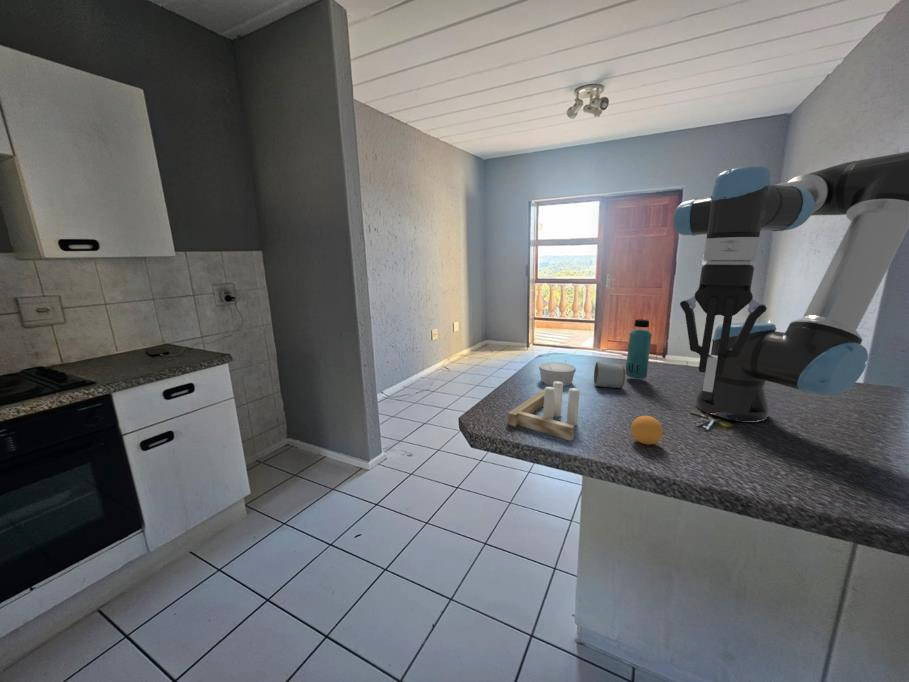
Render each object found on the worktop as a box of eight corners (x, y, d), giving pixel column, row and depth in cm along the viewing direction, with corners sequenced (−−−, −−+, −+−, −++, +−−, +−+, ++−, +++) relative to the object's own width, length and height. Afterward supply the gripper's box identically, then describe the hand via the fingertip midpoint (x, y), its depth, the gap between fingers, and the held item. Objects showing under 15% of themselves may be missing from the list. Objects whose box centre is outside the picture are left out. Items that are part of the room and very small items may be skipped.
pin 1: (554, 421, 90) (556, 388, 88) (550, 424, 88) (552, 390, 86) (545, 418, 91) (547, 386, 89) (541, 421, 89) (543, 388, 87)
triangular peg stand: (597, 412, 94) (598, 401, 94) (568, 443, 79) (569, 430, 78) (542, 399, 103) (543, 389, 102) (507, 424, 88) (507, 412, 87)
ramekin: (531, 379, 121) (532, 364, 120) (558, 375, 125) (559, 360, 124) (553, 390, 111) (554, 373, 110) (582, 385, 115) (583, 369, 114)
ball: (663, 441, 79) (666, 415, 78) (658, 452, 75) (661, 425, 73) (633, 433, 83) (635, 409, 82) (626, 444, 78) (629, 418, 77)
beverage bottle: (645, 378, 121) (652, 318, 117) (648, 384, 115) (655, 321, 111) (623, 376, 124) (629, 317, 119) (625, 382, 117) (632, 320, 113)
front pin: (578, 422, 89) (581, 389, 87) (575, 426, 87) (577, 392, 85) (568, 420, 90) (571, 387, 88) (565, 423, 88) (567, 390, 86)
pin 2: (562, 414, 93) (564, 382, 92) (558, 417, 92) (560, 385, 90) (553, 411, 95) (555, 380, 93) (549, 415, 93) (551, 383, 91)
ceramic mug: (625, 391, 109) (627, 366, 108) (596, 389, 111) (598, 365, 110) (617, 380, 120) (619, 358, 118) (591, 379, 121) (592, 356, 120)
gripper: (682, 263, 66) (665, 387, 71) (778, 263, 58) (751, 403, 63) (687, 263, 72) (671, 378, 77) (774, 263, 64) (751, 391, 69)
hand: (707, 389), depth 70 cm, fingers closed
